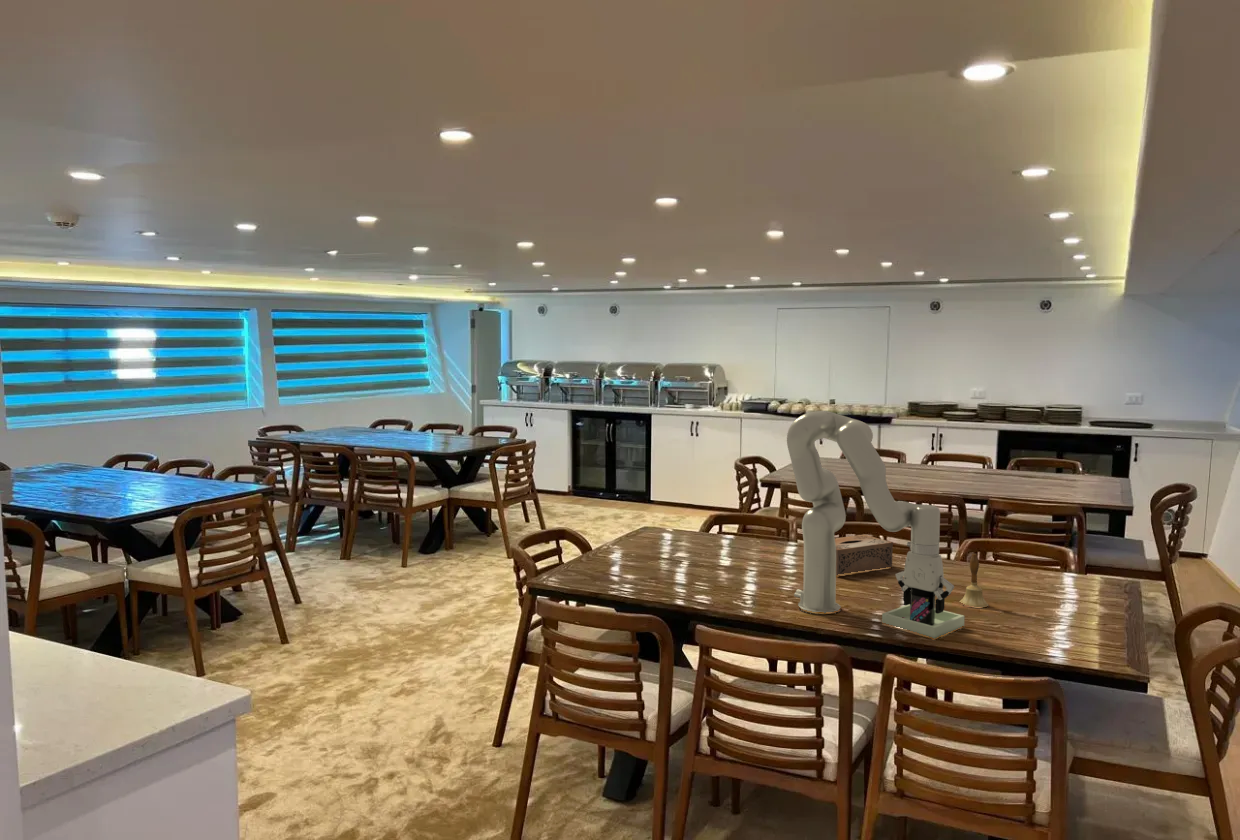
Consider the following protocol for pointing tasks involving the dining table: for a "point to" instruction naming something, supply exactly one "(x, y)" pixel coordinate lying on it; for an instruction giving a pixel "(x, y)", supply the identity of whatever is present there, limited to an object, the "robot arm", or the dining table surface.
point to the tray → (941, 626)
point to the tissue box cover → (862, 553)
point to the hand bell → (974, 587)
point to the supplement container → (922, 606)
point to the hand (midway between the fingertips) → (923, 608)
